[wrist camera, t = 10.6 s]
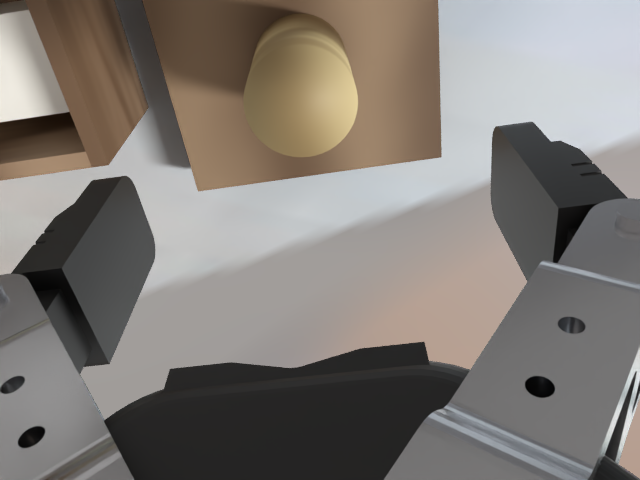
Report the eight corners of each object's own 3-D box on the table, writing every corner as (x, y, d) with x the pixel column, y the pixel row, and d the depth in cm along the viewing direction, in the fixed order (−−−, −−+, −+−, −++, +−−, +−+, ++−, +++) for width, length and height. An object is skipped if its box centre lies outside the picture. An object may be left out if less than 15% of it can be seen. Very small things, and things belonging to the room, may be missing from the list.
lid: (423, -108, 20) (475, -107, 14) (431, 137, 26) (471, 214, 20) (140, -62, 21) (76, -41, 15) (205, 169, 26) (176, 254, 20)
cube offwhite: (76, -9, 21) (39, 8, 18) (108, 81, 23) (79, 110, 20) (-12, 5, 21) (-63, 24, 18) (27, 94, 23) (-14, 124, 20)
